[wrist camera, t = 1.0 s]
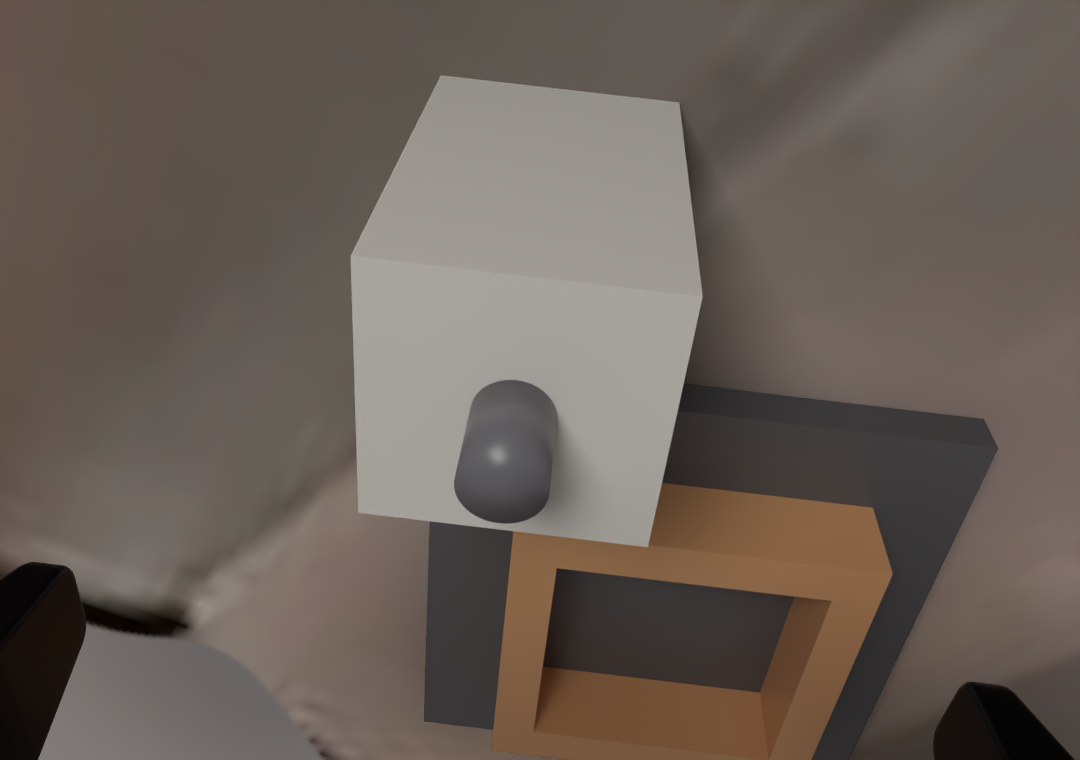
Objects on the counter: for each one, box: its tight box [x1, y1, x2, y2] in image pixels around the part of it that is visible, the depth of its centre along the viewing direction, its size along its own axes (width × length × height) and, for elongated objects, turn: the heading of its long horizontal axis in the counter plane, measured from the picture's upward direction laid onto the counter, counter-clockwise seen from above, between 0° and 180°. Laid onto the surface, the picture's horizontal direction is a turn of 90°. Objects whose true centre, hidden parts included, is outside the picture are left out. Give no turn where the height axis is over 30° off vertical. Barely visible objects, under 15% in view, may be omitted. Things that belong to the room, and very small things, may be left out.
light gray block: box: [351, 76, 703, 547], centre depth 15 cm, size 4×4×8 cm
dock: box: [424, 384, 998, 760], centre depth 23 cm, size 12×12×3 cm
